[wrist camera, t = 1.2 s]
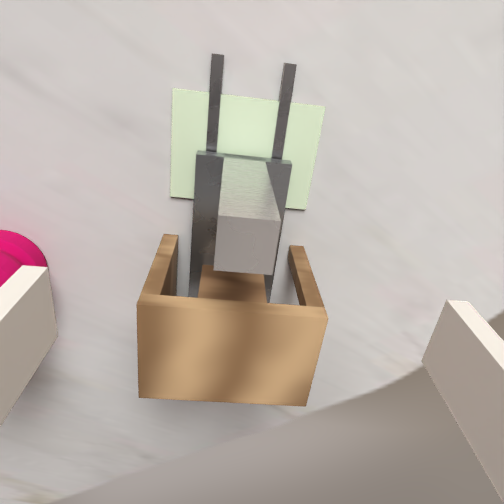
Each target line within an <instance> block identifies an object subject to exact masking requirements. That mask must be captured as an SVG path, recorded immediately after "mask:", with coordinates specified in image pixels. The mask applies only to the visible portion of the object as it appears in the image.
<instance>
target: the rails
mask: <svg viewBox="0 0 504 504" xmlns="http://www.w3.org/2000/svg"><path fill="white" fill-rule="evenodd" d="M223 62H224V55H220V54H212V61H211V77H210V93H209V109H208V125H207V141H206V151H209V152H217V140H218V127H219V113H220V100H221V88H222V75H223ZM295 71H296V64H288V63H284V68H283V75H282V82H281V89H280V97H279V107H278V114H277V121H276V128H275V136H274V143H273V150H272V157H271V158H273V159H282V156H283V149H284V143H285V136H286V130H287V123H288V117H289V110H290V104H291V97H292V91H293V84H294V78H295Z"/></svg>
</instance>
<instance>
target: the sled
mask: <svg viewBox="0 0 504 504" xmlns="http://www.w3.org/2000/svg"><path fill="white" fill-rule="evenodd" d="M291 170H292V163H291V161H290V160H282V159H273V158H264V157H255V156H246V155H236V154H227V153H218V152H209V151H200V150H197V153H196V165H195V185H194V204H193V224H192V243H191V262H190V282H189V297H193V298H198V292H199V286H200V279H201V272H202V266H203V265H214V270H216V271H228V272H240V273H253V274H263V275H264V283H265V291H266V299H267V303H269V302H270V296H271V290H272V284H273V278H274V272H275V266H276V260H277V254H278V248H279V242H280V236H281V230H282V224H283V218H284V212H285V206H286V200H287V194H288V188H289V182H290V176H291Z"/></svg>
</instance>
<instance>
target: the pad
mask: <svg viewBox="0 0 504 504" xmlns="http://www.w3.org/2000/svg"><path fill="white" fill-rule="evenodd" d="M278 107H279V101H275V100H267V99H259V98H250V97H242V96H234V95H226V94H221V100H220V113H219V127H218V140H217V152H218V153H227V154H236V155H246V156H255V157H264V158H271V157H272V150H273V143H274V136H275V128H276V121H277V114H278ZM208 109H209V92H201V91H193V90H185V89H177V88H173V89H172V135H171V180H170V196H171V197H181V198H191V199H194V185H195V165H196V153H197V150H200V151H206V141H207V125H208ZM324 112H325V107H324V106H316V105H308V104H300V103H291V104H290V110H289V117H288V123H287V130H286V136H285V143H284V149H283V156H282V160H290V161H291V163H292V170H291V176H290V182H289V188H288V194H287V200H286V206H285V208H294V209H304V210H306V205H307V200H308V195H309V190H310V184H311V179H312V174H313V169H314V164H315V158H316V153H317V148H318V143H319V138H320V133H321V127H322V122H323V117H324Z"/></svg>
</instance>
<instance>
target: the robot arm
mask: <svg viewBox="0 0 504 504" xmlns="http://www.w3.org/2000/svg"><path fill="white" fill-rule="evenodd" d="M57 337H58V331H57V325H56V318H55V312H54V305H53V298H52V292H51V285H50V278H49V272H48V267H38V266H26V265H22V266H21V267H20V268H19V269H18V270H17V271H16V272H15V273H14V274H13V275H12V276H11V277H10V278H9V279H8V280H7V281H6V282H5V283H4V284H3V285H2V286H1V287H0V426H1V425H2V423H3V422H4V420H5V419H6V417H7V415H8V414H9V412H10V411H11V409H12V408H13V406H14V404H15V403H16V401H17V400H18V398H19V397H20V395H21V393H22V392H23V390H24V389H25V387H26V386H27V384H28V382H29V381H30V379H31V378H32V376H33V375H34V373H35V371H36V370H37V368H38V367H39V365H40V364H41V362H42V360H43V359H44V357H45V356H46V354H47V353H48V351H49V349H50V348H51V346H52V345H53V343H54V342H55V340H56V338H57ZM422 363H423V365H424V366H425V368H426V370H427V372H428V373H429V375H430V377H431V379H432V380H433V382H434V384H435V385H436V387H437V389H438V390H439V392H440V394H441V396H442V398H443V399H444V401H445V403H446V405H447V406H448V408H449V410H450V411H451V413H452V415H453V417H454V418H455V420H456V422H457V423H458V425H459V427H460V429H461V431H462V432H463V434H464V436H465V438H466V439H467V441H468V443H469V444H470V446H471V448H472V450H473V451H474V453H475V455H476V457H477V458H478V460H479V462H480V464H481V465H482V467H483V469H484V471H485V472H486V474H487V476H488V478H489V479H490V481H491V483H492V484H493V486H494V488H495V490H496V491H497V493H498V495H499V497H500V498H501V500H502V502H503V503H504V341H503V340H502V339H501V338H500V337H499V336H498V334H497V333H496V332H495V331H494V330H493V329H492V328H491V327H490V325H489V324H488V323H487V322H486V321H485V320H484V319H483V318H482V317H481V315H480V314H479V313H478V312H477V311H476V310H475V309H474V308H473V306H472V305H471V304H470V303H469V302H467V301H455V300H446V303H445V305H444V307H443V310H442V312H441V315H440V317H439V320H438V322H437V324H436V327H435V329H434V332H433V334H432V336H431V339H430V341H429V344H428V346H427V349H426V351H425V353H424V356H423V358H422Z"/></svg>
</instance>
